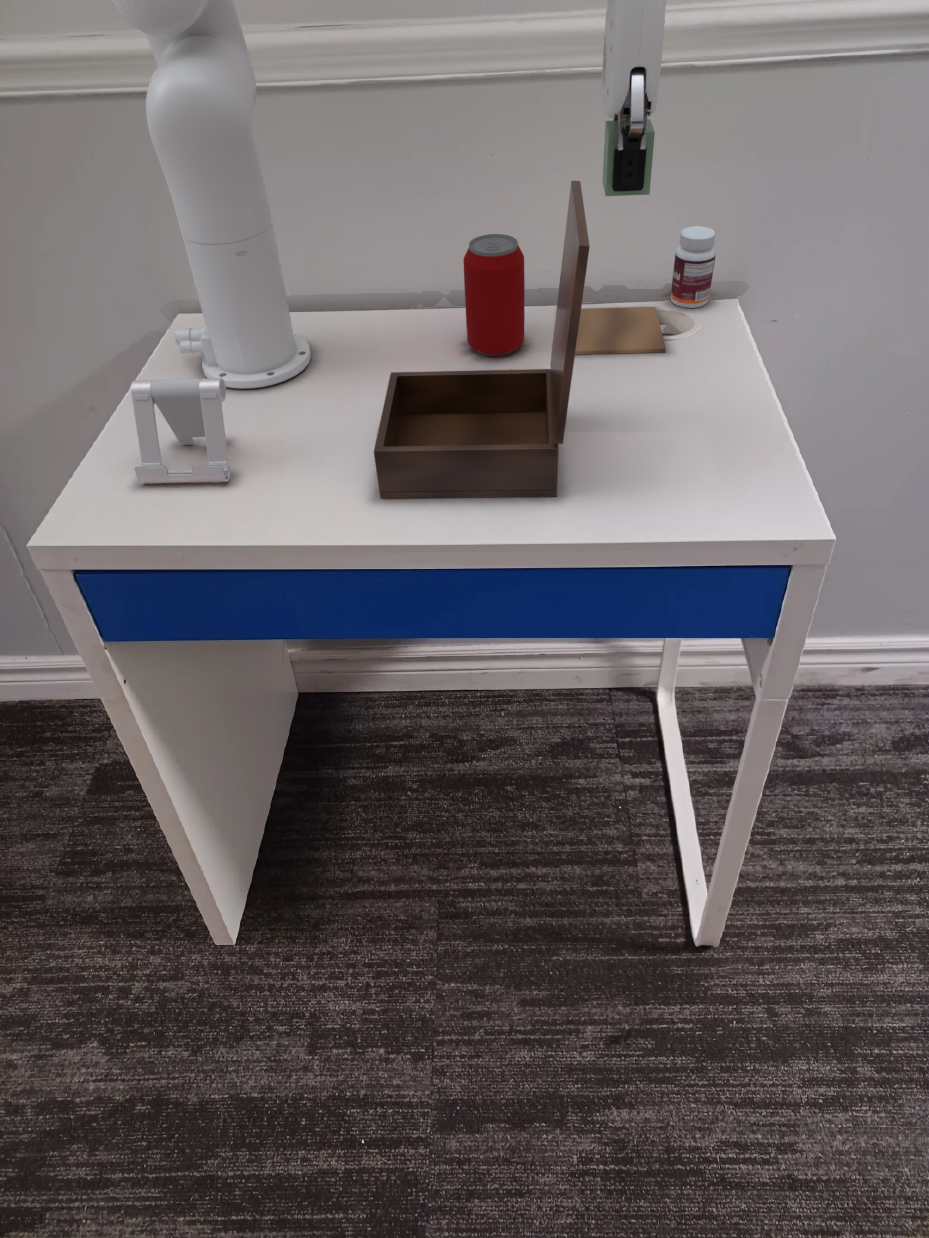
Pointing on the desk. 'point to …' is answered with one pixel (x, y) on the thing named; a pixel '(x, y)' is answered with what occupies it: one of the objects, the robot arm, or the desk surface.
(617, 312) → the coaster
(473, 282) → the beverage can
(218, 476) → the tablet stand
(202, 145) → the robot arm
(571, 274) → the lid
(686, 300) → the pill bottle
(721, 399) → the desk surface
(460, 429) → the chest
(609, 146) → the green block
